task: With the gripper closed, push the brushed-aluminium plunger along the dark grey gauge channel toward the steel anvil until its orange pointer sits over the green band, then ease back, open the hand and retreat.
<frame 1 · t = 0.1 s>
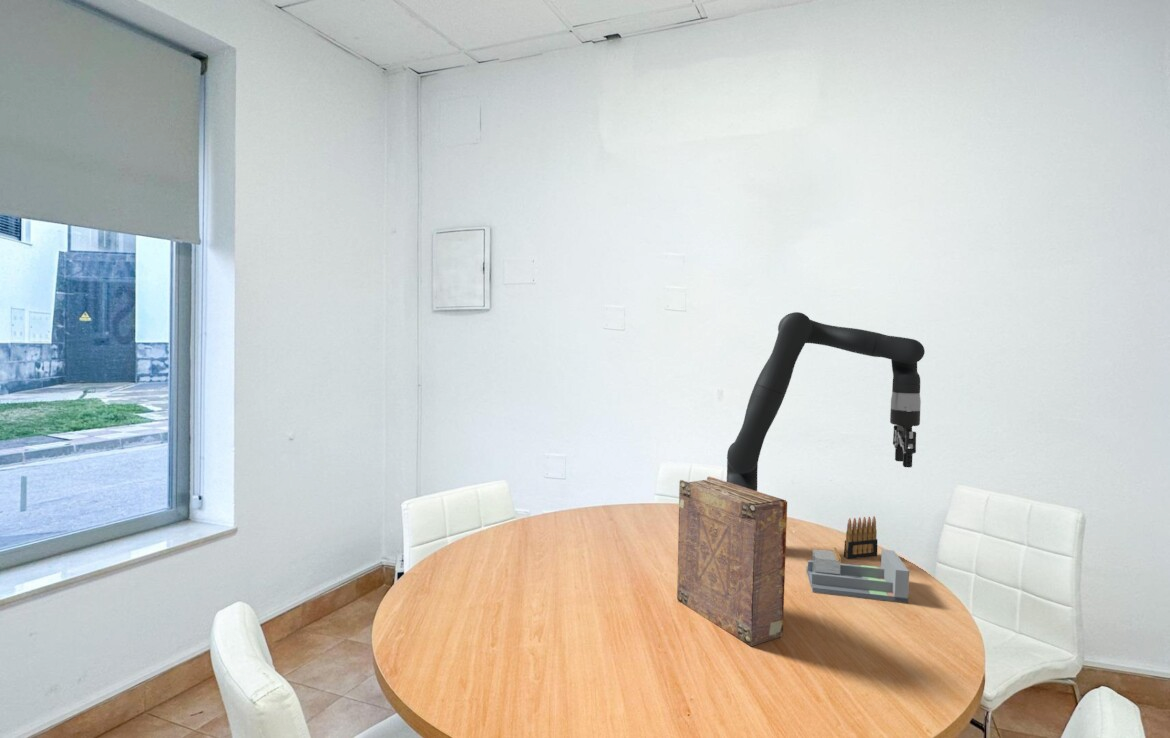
hand: (903, 464, 168), 29 cm above the table, fingers open, 8 cm apart
ammunition clip: (860, 557, 175), on the table
plunger: (826, 564, 155), point 5 cm above the table, slide at 0.0 cm
book: (726, 618, 134), on the table
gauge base: (853, 585, 153), on the table
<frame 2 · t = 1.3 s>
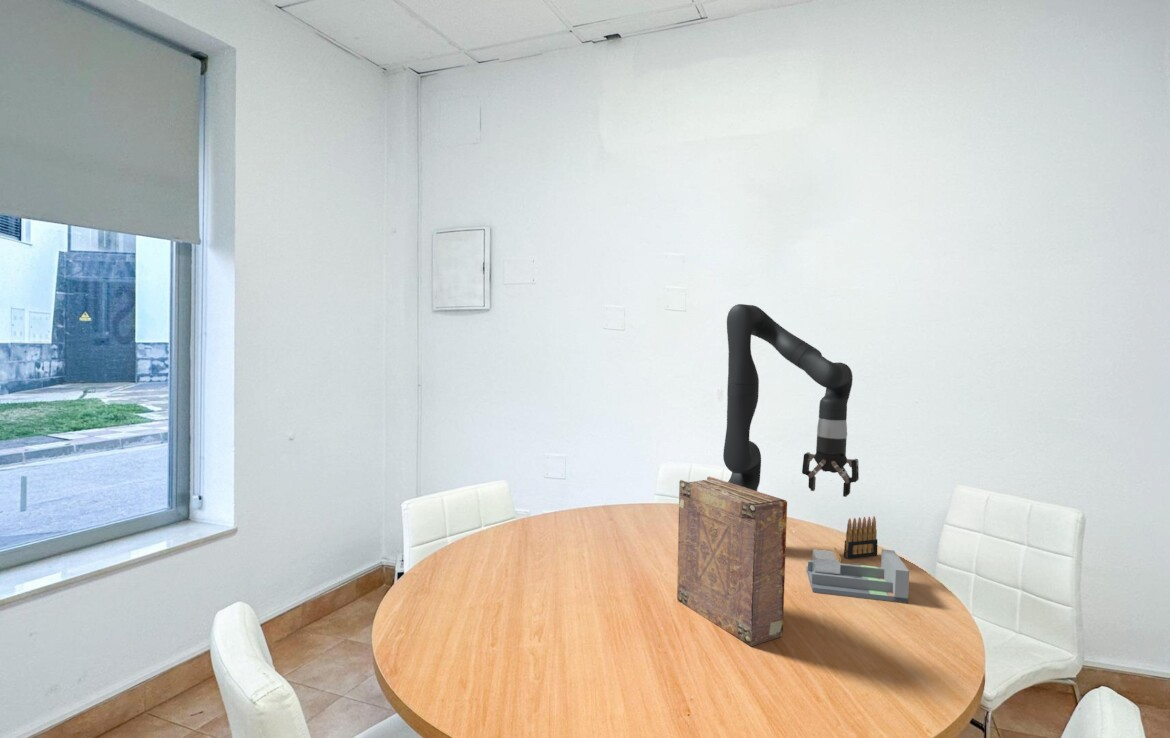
hand: (828, 493, 160), 22 cm above the table, fingers open, 8 cm apart
nothing on the table moved.
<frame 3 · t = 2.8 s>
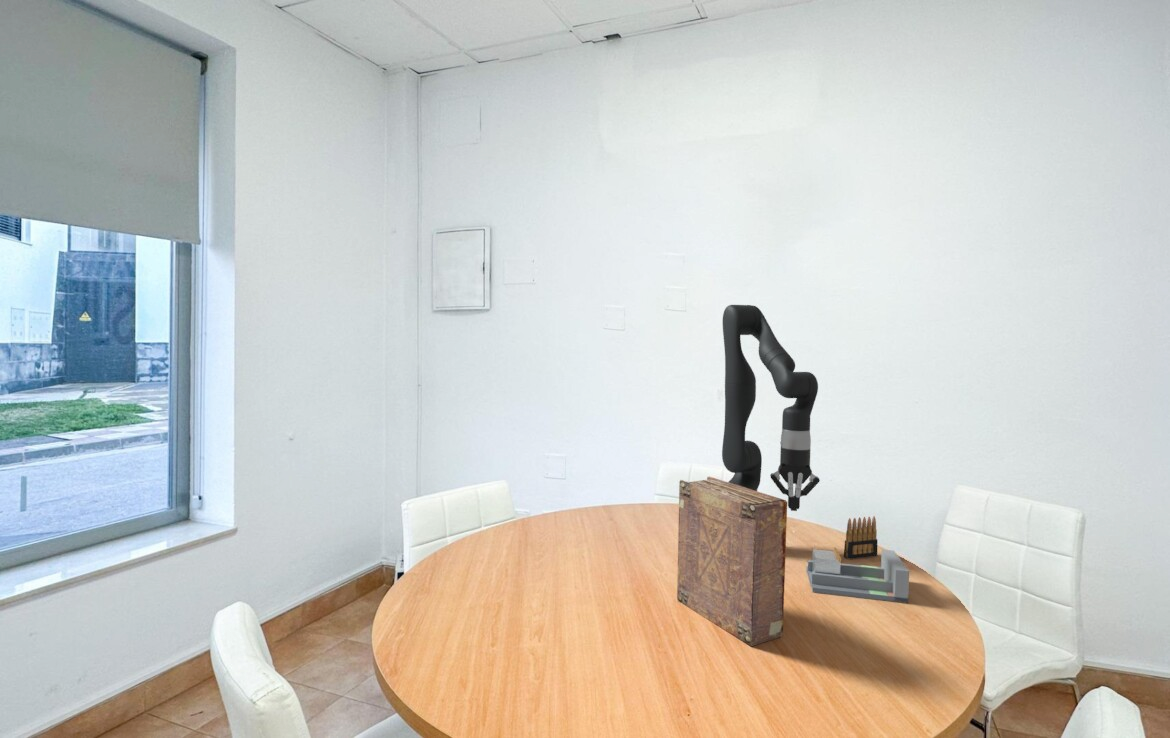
hand: (793, 510, 156), 19 cm above the table, fingers closed
nothing on the table moved.
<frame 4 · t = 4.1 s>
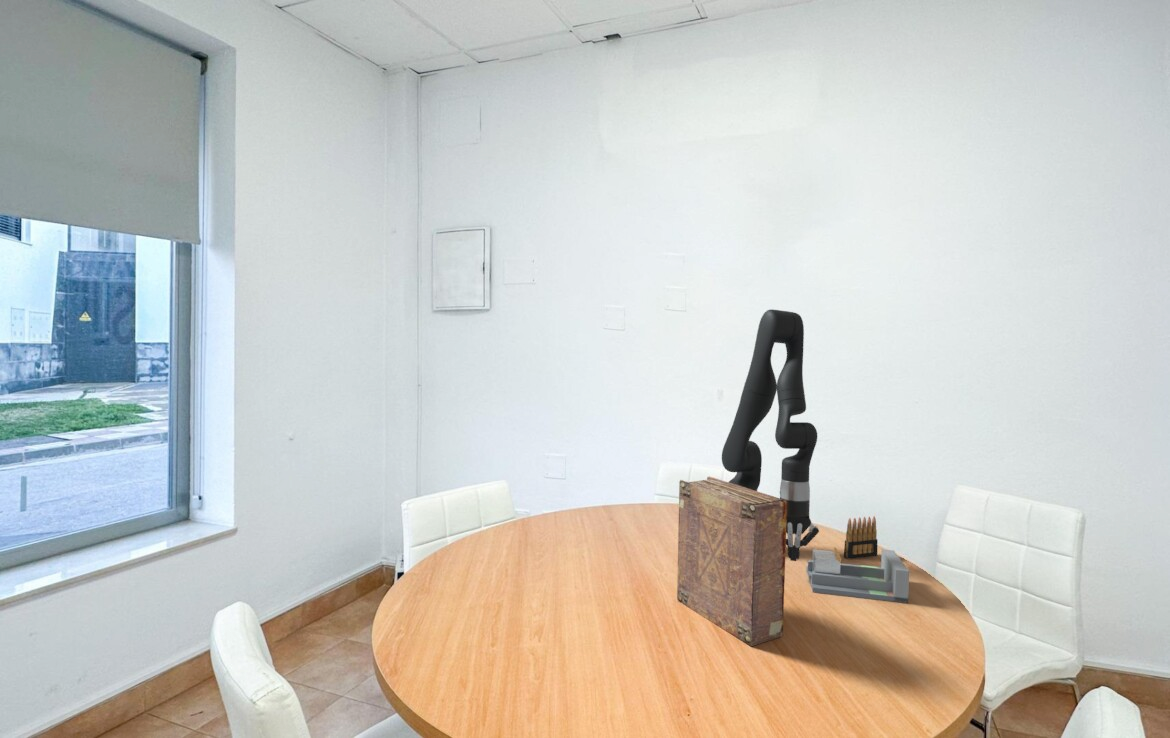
hand: (793, 559, 157), 5 cm above the table, fingers closed
nothing on the table moved.
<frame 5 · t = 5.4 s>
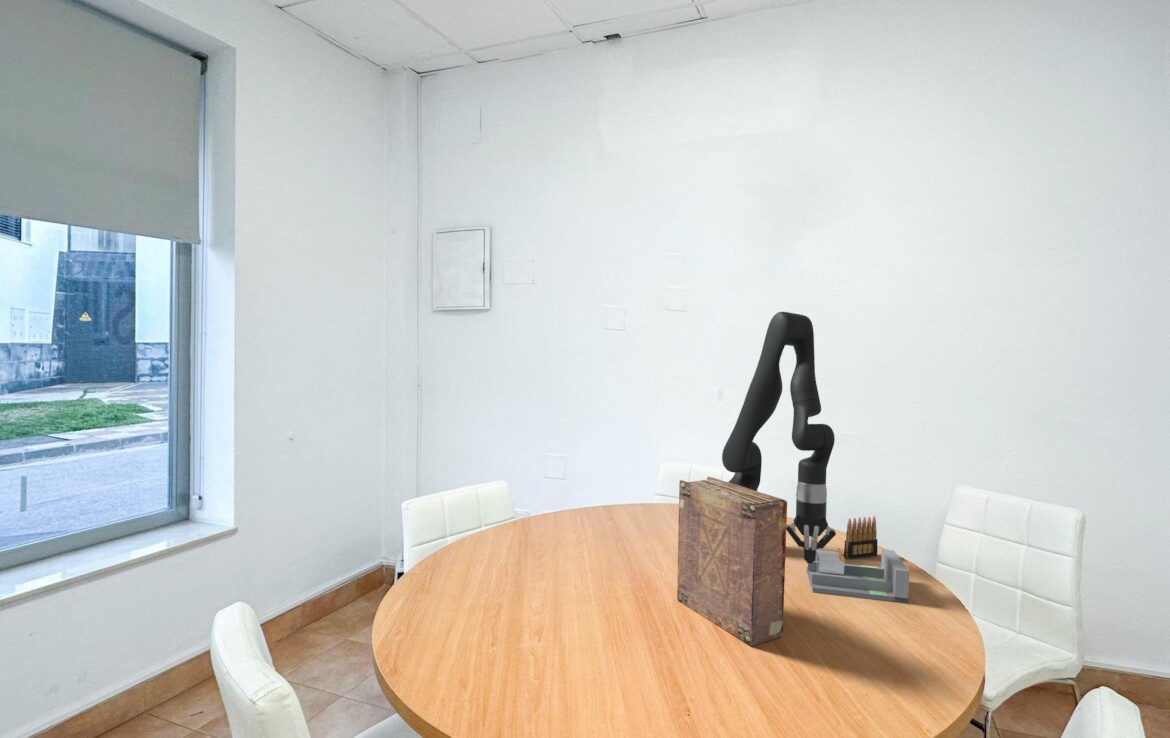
hand: (809, 562, 156), 5 cm above the table, fingers closed
plunger: (829, 564, 155), point 5 cm above the table, slide at 0.9 cm, touching gripper
everything else where it was.
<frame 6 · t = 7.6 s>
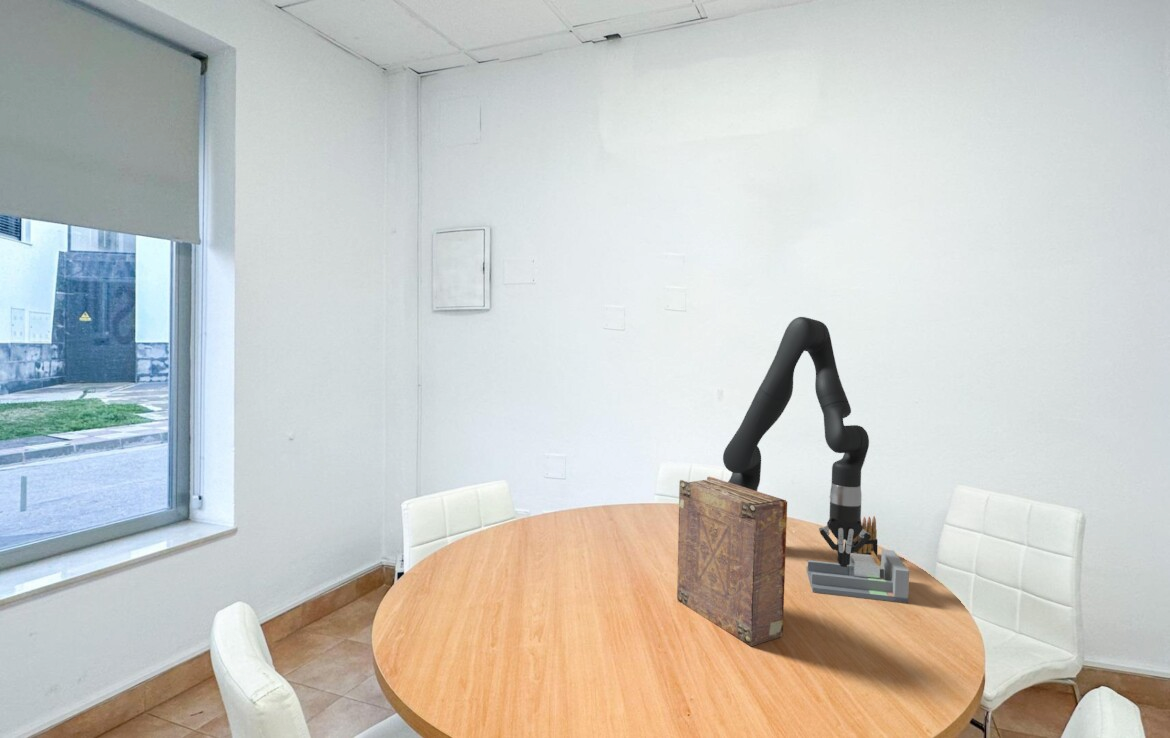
hand: (843, 565, 154), 5 cm above the table, fingers closed
plunger: (864, 568, 152), point 5 cm above the table, slide at 9.3 cm, touching gripper
everything else where it was.
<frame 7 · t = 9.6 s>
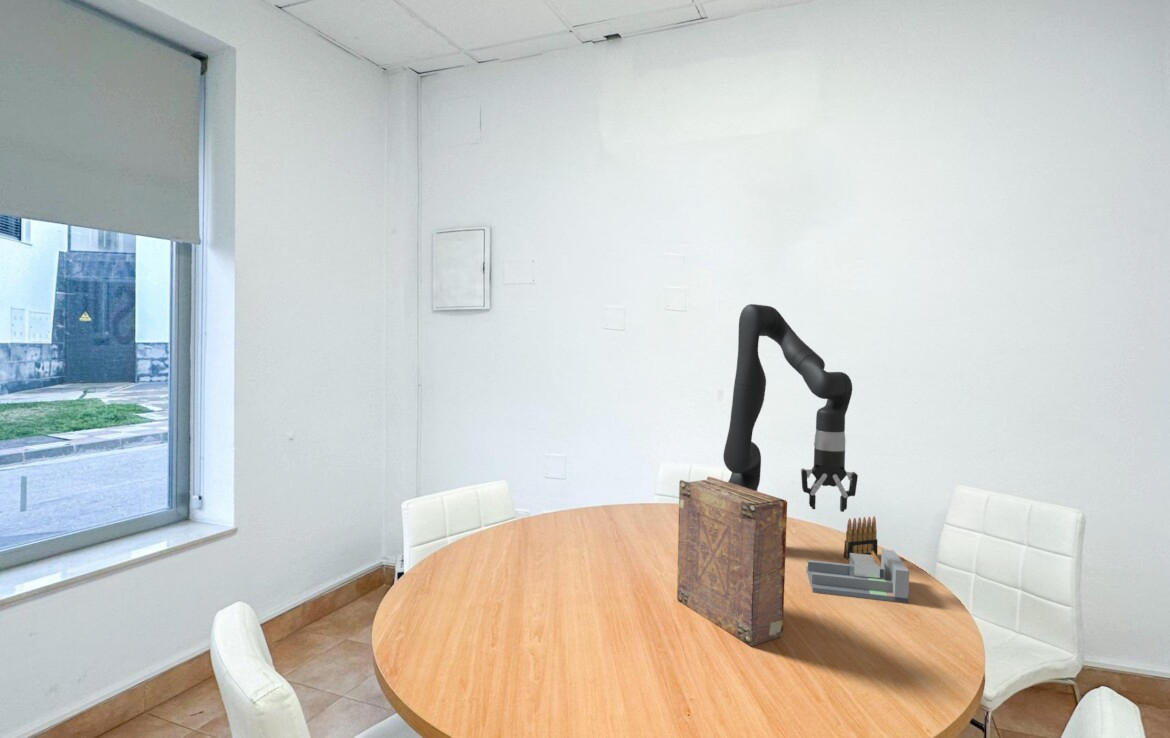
hand: (827, 509, 154), 20 cm above the table, fingers open, 6 cm apart
plunger: (864, 568, 152), point 5 cm above the table, slide at 9.3 cm
everything else where it was.
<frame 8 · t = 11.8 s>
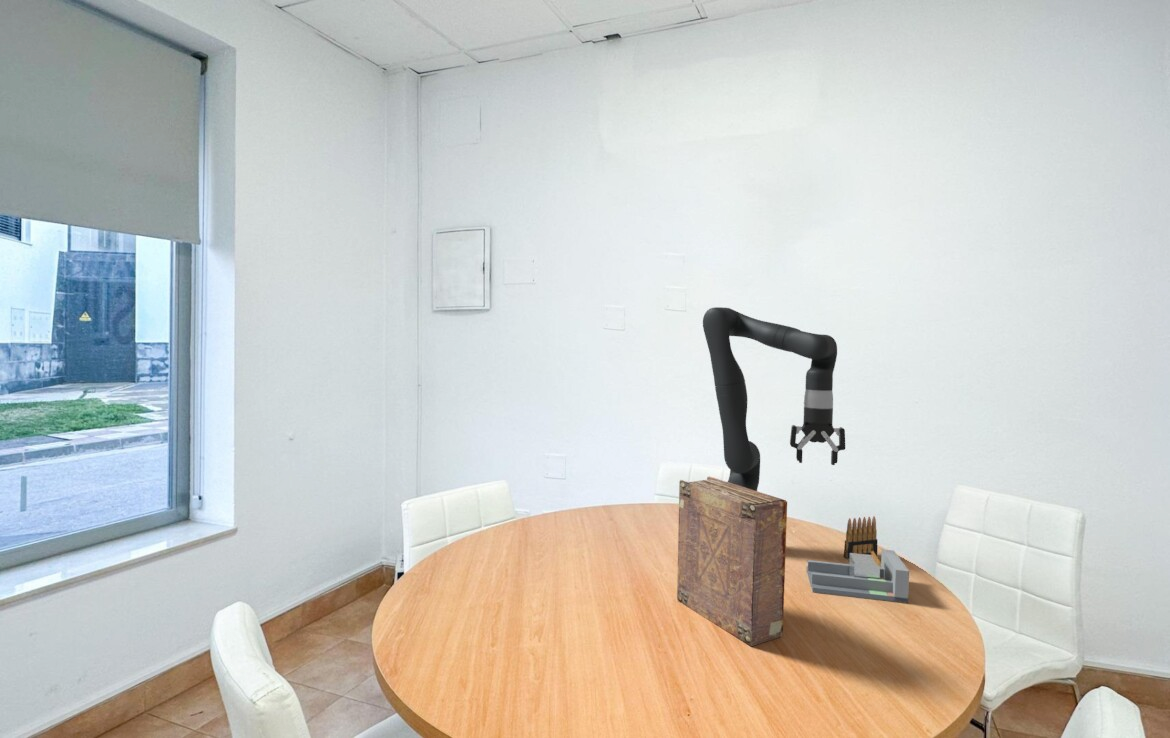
hand: (816, 463, 163), 30 cm above the table, fingers open, 8 cm apart
nothing on the table moved.
at the end: plunger slide at 9.3 cm; plunger touching nothing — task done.
